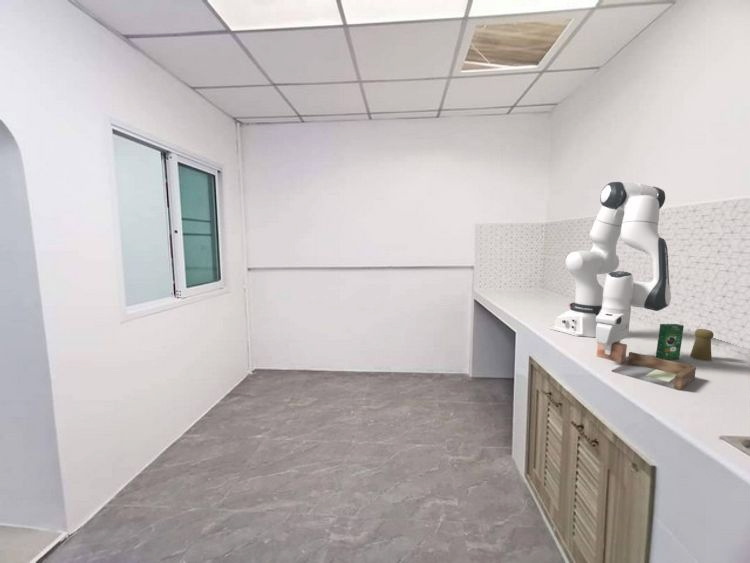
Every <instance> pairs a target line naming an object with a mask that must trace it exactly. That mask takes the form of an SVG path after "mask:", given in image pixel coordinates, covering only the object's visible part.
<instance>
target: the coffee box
mask: <svg viewBox="0 0 750 563" xmlns="http://www.w3.org/2000/svg"><path fill="white" fill-rule="evenodd" d="M683 334H684V325H683V324H681V323H680V324H679V323H660V324H659V332H658V339H657V346H656V350H655V351H656V352H655V358H659V359H664V360H677V359H678V360H679V359H680V355H681V347H682V340H683Z"/></svg>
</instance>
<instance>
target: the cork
mask: <svg viewBox="0 0 750 563" xmlns="http://www.w3.org/2000/svg"><path fill="white" fill-rule="evenodd" d="M694 336H695V339H694V343H693V346H692V348H691V352H690V355H689V357H690V358H692V359H695V360H698V361H699V360H700V361H706V362H710V361H712V339H713V338H714V332H713V331H711V330H709V329H705V328H697V329H696V330H695V331H694Z"/></svg>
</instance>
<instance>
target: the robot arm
mask: <svg viewBox="0 0 750 563" xmlns="http://www.w3.org/2000/svg"><path fill="white" fill-rule="evenodd" d="M599 202H600V204H601V205H602V206H601V208H600V209H599V211H598V213H597V214H596V215H597V216H596V217H595V220H594V222H593V225H592V227H591V229H590V231H589V236H588V237H589V239H591V241H592V247H591V249H590V250H589V249H588V250H586V249H585V250H583V249H581V250H576V251H572V252H570V253H569V254H568V255H567V256H566V259H565V262H564V263H565V267H566V269H567V271H568V272H569V273H570V274H571V276H572V277H573V280H574V285H575V288H574V290H575V291H574V292H575V293H574V301H573V302H571V303H568V307H569V309H568V310H566V311H564V312H562V313H560V314H559V315H557V316H556V319H555V321H554V323H553V324H550V325H549V327H548V328H549V329H550V330H552V331H556V332H561V333H564V334H568V335H570V336H571V335H572V336H574V337H589V338H595V341H596V344H597V345H598V344H602V345H604V347H605V354H608V355H610V354H612V350H611V346H612V343H615V342H617V343H621V341H622V340H626V339H628V337H629V334H630V322H631V312H632V307H633V308H634V307H635V308H642V309H646V310H650V311H654V312H658V311H661V310H664V309H665V308H667V307H669V306H670V303H671V300H672V293H671V288H670V287H671V286H670V277H669V276H670V273H669V272H670V271H669V269H670V268H669V253H668V245H667V242H666V240H665V239H664V237H663V238H662V237H661V236H660V235H659V231H658V230H659V229H658V228H659V221H660V209H661V208H662V207H663V206H664V203H665V202H666V193H665V190H664V189H662V188H660V187H658V186H650V185H647V184H643V183H639V182H638V183H634V182H633V183H631V182H622V181H612V182H608V183H607V184H606V185H605V186H604V187H603V188H602V190H601V192H600V197H599ZM619 238H621V240H622V241H623V243H624V244H625V245H627V246H628V247H631V249H632V248H633V249H636V250H638V251H641V252H643V253H645V254H648V255H649V256H650V257H651V260H652V281H641V280H634V277H633V274H632V273H631V272H628V271H623V270H622V271H620V270H618V267H619V265H620V259H619V257H618V255H617V244H618V241H619ZM616 270H618V271H616ZM605 274H607V275H606V276H605V277H606V278H605V280H604V286H602V285H601V284H600V283H599V281H598V276H597V275H605Z"/></svg>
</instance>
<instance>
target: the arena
mask: <svg viewBox="0 0 750 563" xmlns="http://www.w3.org/2000/svg"><path fill="white" fill-rule="evenodd" d="M696 370H697V367H696V366H695V365H694V366H693V365H690V364H686V363H681V362H676V361H671V360H669V359H667V360H665V359H659V358H656V356H655V357H654V356H652V355H651V356H650V355H645V354H641V353H637V352H633V351H629V352H628V358H627V362H625V363H624V364H621V365H619V366H618V367H616V368H613V369H611V372H613V373H616V374H620V375H622V376H623V375H624V376H626V377H631V378H634V379H637V380H641V381H645V382H649V383H652V384H654V385H655V384H657V385H658V386H662V387H666V388H669V389H674V390H677V391H681V390H683V389H684V388H685V387H686V386H687V385H689V384H690V383H691V382H693V381H695V377H696Z"/></svg>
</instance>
